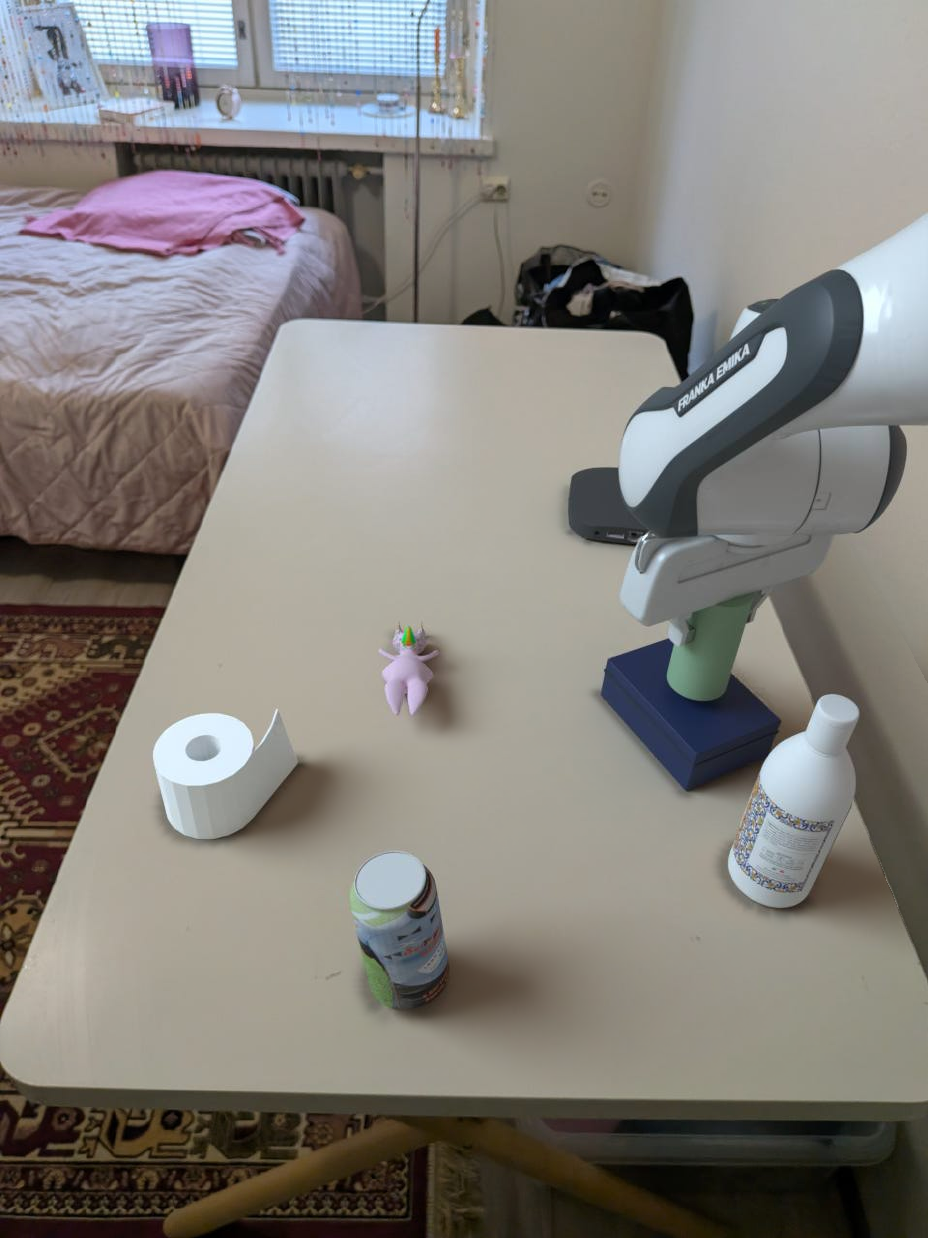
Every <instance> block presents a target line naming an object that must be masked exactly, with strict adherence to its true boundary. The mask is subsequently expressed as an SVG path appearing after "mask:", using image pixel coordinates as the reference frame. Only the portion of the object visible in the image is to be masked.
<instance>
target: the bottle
mask: <svg viewBox="0 0 928 1238" xmlns="http://www.w3.org/2000/svg"><path fill="white" fill-rule="evenodd" d="M753 599H754V592H753V593H750V594H747V595H744V596H741V597H739V596H735V597H733V598H732V599H731V600H729V601H725V602H722V603H719V604H716V605H713V606H710V607H707V608H704V609H701V610H698V611H695V612H692V615H691V618H690V619H686V620H687V621H688V624H690V625H692V626H693V627H694V628H695V629H696V632H695V635H694V637H693V638H694V640H693V642H691V643H688V644H686V645H683V646H680V647H677V646H676V645H675V644H674V647H673V651H672V655H671V659H670V663H669V667H668V671H667V680H668V683H669V685H670V686H671V687H672V688H673V690H675V691H676V692H677V693H678V694H680V695H682V696H684V697H686V698H689V699H692V700H697V701H710V700H714V699H717V698H719V697H720V696H722V695H723V694H724V692H725V691H726V688H727V685H728V681H729V678H730V675H731V673H732V671H733V668H734V665H735V662H736V657H737V655H738V651H739V648H740V645H741V642H742V638H743V634H744V632H745V628H746V625H747V624H746V622H747V618H748V615H749V612H750V608H751V605H752V602H753Z"/></svg>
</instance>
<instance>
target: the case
mask: <svg viewBox="0 0 928 1238" xmlns="http://www.w3.org/2000/svg"><path fill="white" fill-rule="evenodd" d="M673 647H674V643H673V642H672V641H671V640H670V639H669V637H668V638H665V639H662V640H659V641H656V642H653V643H649V644H647V645H643V646H641V647H638V648H635V649H633V650H632V649H631V650H630V651H626V652H623V653H621V654H618V655H615V656H611V657H609V658H607V660H606V665H605V668H604V669H603V673H604V676H603V680H602V686H601V691H600V696H601V697H602V698H603V699H604V700H605V702H606V703H607V704H608V705H609V707H611V709H612V710H613V711H614V712H615V713H616V714H617V715H618V716H619V718H620V719H621V720H622V721H623V722H624V723H625V724H626V726H627V727H628V728H629V729H630V730H631V731H632V732H633V734H635V736H636V737H637V738H638V739H639V740H640V741H641V743H642V744H643V745H644V746H645V747H646V748H647V749H648V750H649V752H650V753H651V754H652V755H653V756H654V757H655V758H656V759H657V760H658V762H659V763H660V764H661V765H662V766H663V767H664V768H665V770H666V771H667V772H668V773H669V774H670V775H671V776H672V778H673V779H674V780H675V781H676V782H677V783H678V785H680V786H681V787H682V788H683V790H684V791H685V792H687V791H690V790H692V789H694V788H697V787H699V786H702V785H704V784H706V783H709V782H711V781H713V780H717V779H718V778H720V777H723V776H725V775H728V774H730V773H732V772H735V771H738V770H739V769H742V768H745V767H747V766H749V765H751V764H754V763H756V762H758V761H761V760H763V759H766V758H767V757H768V755H769V754H770V753H771V751H772V747H773V745H774V741H775V740H776V737H777V735H779V732H780V731H779V729H780V726H781V724H782V719H781V718H780V717H779V716H778V715H777V714H775V713H774V712H773V710H771V709H770V708H769V707H768V705H766V704H765V703H764V702H763V701H762V700H760V698H758V697H757V696H756V695H755V694H754V692H752V691H751V690H750V689H749V688H748V687H747V686H746V685H745V684H744V683H743V682H742V681H740V680H739V679H738V678H737V677H736V675H734V674H733V673H732V672H731V675H730V678H729V681H728V685H727V688H726V691H725V692H724V694H723V695H722V696H720V697H719V698H717V699H714V700H710V701H697V700H692V699H689V698H686V697H684V696H682V695H680V694H678V693H677V692H676V691H675V690H673V688H672V687H671V686H670V685H669V683H668V680H667V671H668V667H669V663H670V659H671V655H672V651H673Z"/></svg>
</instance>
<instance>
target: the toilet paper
mask: <svg viewBox="0 0 928 1238" xmlns="http://www.w3.org/2000/svg"><path fill="white" fill-rule="evenodd" d="M152 759H153V765H154V771H155V774H156V777H157V781H158V785H159V789H160V793H161V798H162V801H163V805H164V809H165V813H166V814H165V815H166V817H167V820H168V821H169V823H170V825H171V826H172V827H173V829H174V830H176V831H177V832H179V833H181V834H182V835H183V836H185V837H189V838H192V839H196V840H215V839H220V838H224V837H228V836H231V835H232V834H234V833H236V832H238V831H240V830H242V829H243V828H244V827H246V826H247V825H248V824H249V823H250V822H251V821H252V820H253V819H254V818H255V817H256V816H257V814H258V813H259V812H260V811H261V809H262V808H263V807H264V806H265V805H266V803H267V802H268V801H269V800H270V798H271V797H272V796H273V795H274V793H275V792H276V791H277V790H278V788H279V787H280V786H281V785H282V783H283V782H285V780H286V779H287V777H289V775H290V774H291V773H292V771H293V770H294V769H295V767H296V766H297V765H298V764H299V762H298V759H297V756H296V754H295V751H294V748H293V745H292V743H291V741H290V738H289V735H288V732H287V729H286V727H285V724H284V721H283V719H282V716H281V712H280V711H279V709H278V708H275V711H274V714H273V716H272V720H271V722H270V725H269V727H268V729H267V731H266V732H265V734H264V736H263V738H262V739H261V741H260V742H259V744H258V745H257V746H256V747H255V743H254V738H253V735H252V731H251V730H250V729H249V728H248V726H247V725H246V724H245V723H244V722H243V721H241V720H239V719H238V718H236V717H234V716H231V715H227V714H224V713H216V712H215V713H214V712H213V713H212V712H211V713H207V712H204V713H199V714H195V715H190V716H188V717H185V718H183V719H180V720H179V721H177V722H174V723H173V724H172V725H170V726H169V727H168V728H167V729H165V730H164V731H163V732H162V733H161V734H160V736H159V737H158V739H157V740H156V741H155V744H154V748H153V751H152Z"/></svg>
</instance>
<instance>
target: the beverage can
mask: <svg viewBox="0 0 928 1238" xmlns="http://www.w3.org/2000/svg"><path fill="white" fill-rule="evenodd" d="M348 895H349V898H348V901H349V907H350V912H351V916H352V921H353V924H354V927H355V928H354V929H355V932H356V937H357V941H358V945H359V949H360V952H361V955H362V961H363V964H364V968H365V973H366V977H367V980H368V985H369V988H370V990H371V993H372V994H373V996H374V998H375V999H376V1000H377V1001H379V1003H381V1004H382V1005H384V1006H385V1007H388V1008H390V1009H393V1010H397V1011H412V1010H413V1011H414V1010H417V1009H420V1008H422V1007H423V1008H424V1007H425V1006H427V1005H429V1004H430V1003H432V1002H433V1001H435V1000H436V999H437V998H438V997H439V996H440V995H441V993H443V991H444V989H445V987H446V986H447V983H448V980H449V976H450V963H449V958H448V951H447V945H446V944H447V943H446V939H445V933H444V926H443V920H442V919H443V918H442V912H441V908H440V900H439V895H438V889H437V883H436V880H435V877H434V876H433V874H432V872H431V870H430V869H429V868H428V867H427V866H426V865H424V864H423V863H422V862H421V860H420V859H418V858H417V857H416V856H415V855H414V854H411V853H409V852H406V851H401V850H389V851H384V852H380V853H378V854H375V855H373V856H371V857H370V858H368V859H367V860H366V861H365V862H363V864H362V865H360V867H359V868H358V870H357V871H356V873H355V876H354V880H353V882H352V883H351V886H350V889H349V894H348Z"/></svg>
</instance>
